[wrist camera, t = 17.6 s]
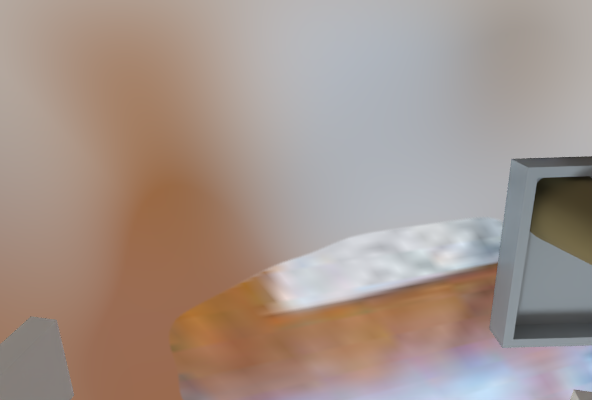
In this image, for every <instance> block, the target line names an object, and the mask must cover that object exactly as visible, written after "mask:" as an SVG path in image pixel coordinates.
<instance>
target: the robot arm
mask: <svg viewBox="0 0 592 400" xmlns="http://www.w3.org/2000/svg"><path fill="white" fill-rule="evenodd" d="M73 396H74V393H73V388H72V384H71V380H70V376H69V371H68V367H67V363H66V358H65V354H64V350H63V345H62V341H61V337H60V333H59V328H58V324H57V320H53V319H46V318H38V317H30V318H29V319H28V320H26V322H24V323H23V324H22V325H21V326H20V327H19V328H18V329H17V330H15V331H14V332H13V333H12V334H11V335H10V336H9V337H8V338H7V339H6V340H4V341H3V342H2V343H1V344H0V400H71V398H72V397H73ZM570 400H592V392H587V391H580V390H574V391H573V393H572V396H571V399H570Z"/></svg>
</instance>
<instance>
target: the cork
mask: <svg viewBox="0 0 592 400" xmlns="http://www.w3.org/2000/svg"><path fill="white" fill-rule="evenodd" d="M530 232H531V233H532V234H534V235H535V236H536V237H538V238H540V239H542V240H544V241H545V242H547V243H549V244H551V245H553V246H555V247H557V248H559V249H561V250H563V251H565V252H567V253H569V254H571V255H573V256H575V257H577V258H579V259H581V260H583V261H585V262H587V263H589V264H590V265H592V178H591V177H590V176H582V177H550V178H542V179H540V180H539V181H538V182H537V185H536V192H535V199H534V205H533V212H532V218H531V225H530Z"/></svg>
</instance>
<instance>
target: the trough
mask: <svg viewBox="0 0 592 400" xmlns="http://www.w3.org/2000/svg"><path fill="white" fill-rule="evenodd" d="M582 176H590V177H591V178H592V157H560V158H528V159H512V160H511V168H510V175H509V183H508V191H507V198H506V206H505V214H504V221H503V229H502V237H501V244H500V252H499V260H498V267H497V275H496V283H495V290H494V298H493V306H492V314H491V321H490V331H491V332H492V333H493V335H494V336H495V338H496V339H497V341H498V342H499V344H500V345H501V347H502V348H511V347H547V346H584V345H592V265H590V264H589V263H587V262H585V261H583V260H581V259H579V258H577V257H575V256H573V255H571V254H569V253H567V252H565V251H563V250H561V249H559V248H557V247H555V246H553V245H551V244H549V243H547V242H545V241H544V240H542V239H540V238H538V237H536V236H535V235H534V234H532V233H531V232H530V225H531V218H532V212H533V205H534V199H535V192H536V185H537V182H538V181H539V180H540V179H542V178H550V177H582Z"/></svg>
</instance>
